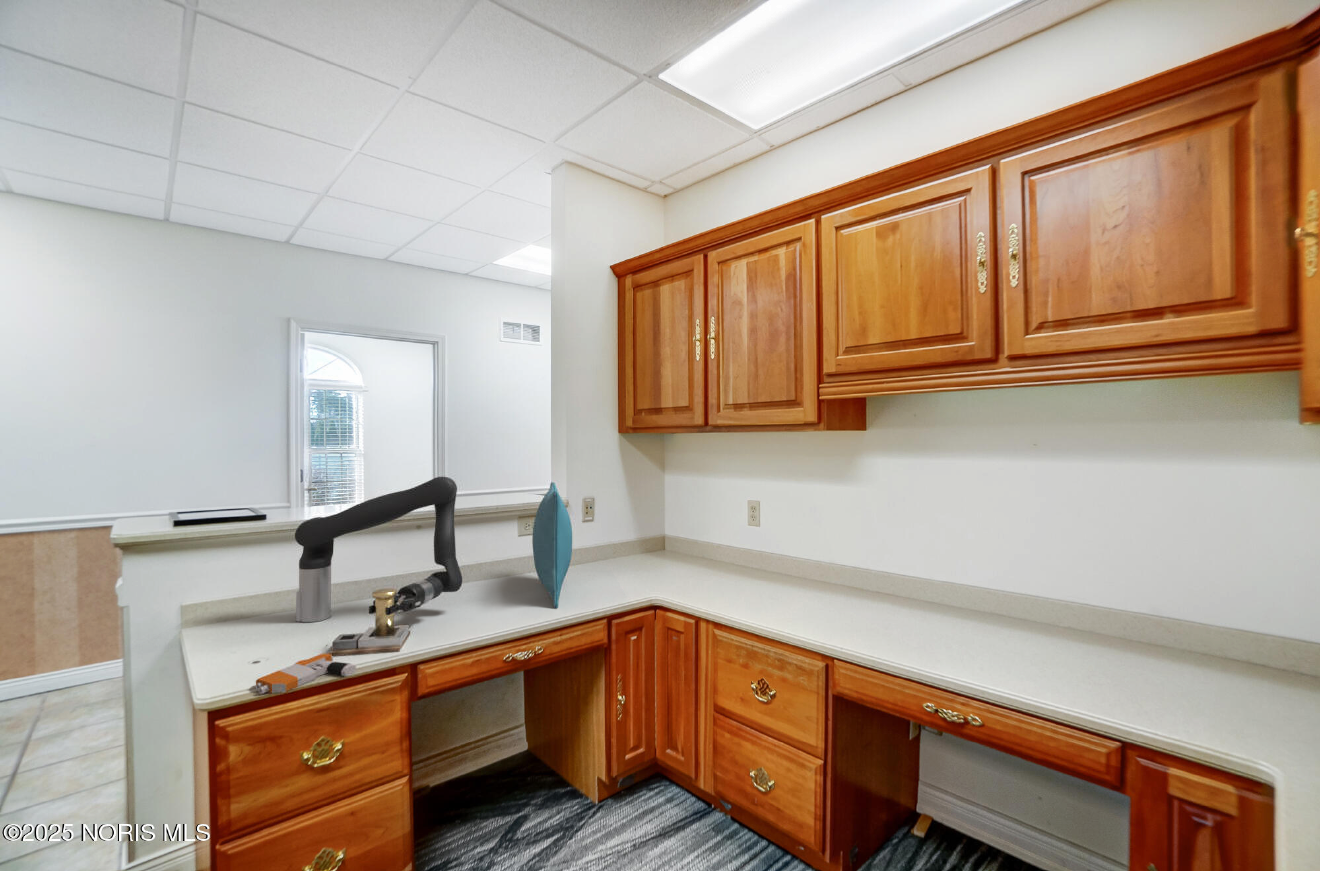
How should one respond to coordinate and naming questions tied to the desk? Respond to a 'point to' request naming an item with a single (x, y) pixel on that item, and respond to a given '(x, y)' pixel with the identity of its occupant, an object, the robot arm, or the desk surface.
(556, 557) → the pillow
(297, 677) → the toy gun
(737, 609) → the desk surface
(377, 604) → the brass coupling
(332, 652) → the walnut board
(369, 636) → the wide steel port
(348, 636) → the grey square ring
